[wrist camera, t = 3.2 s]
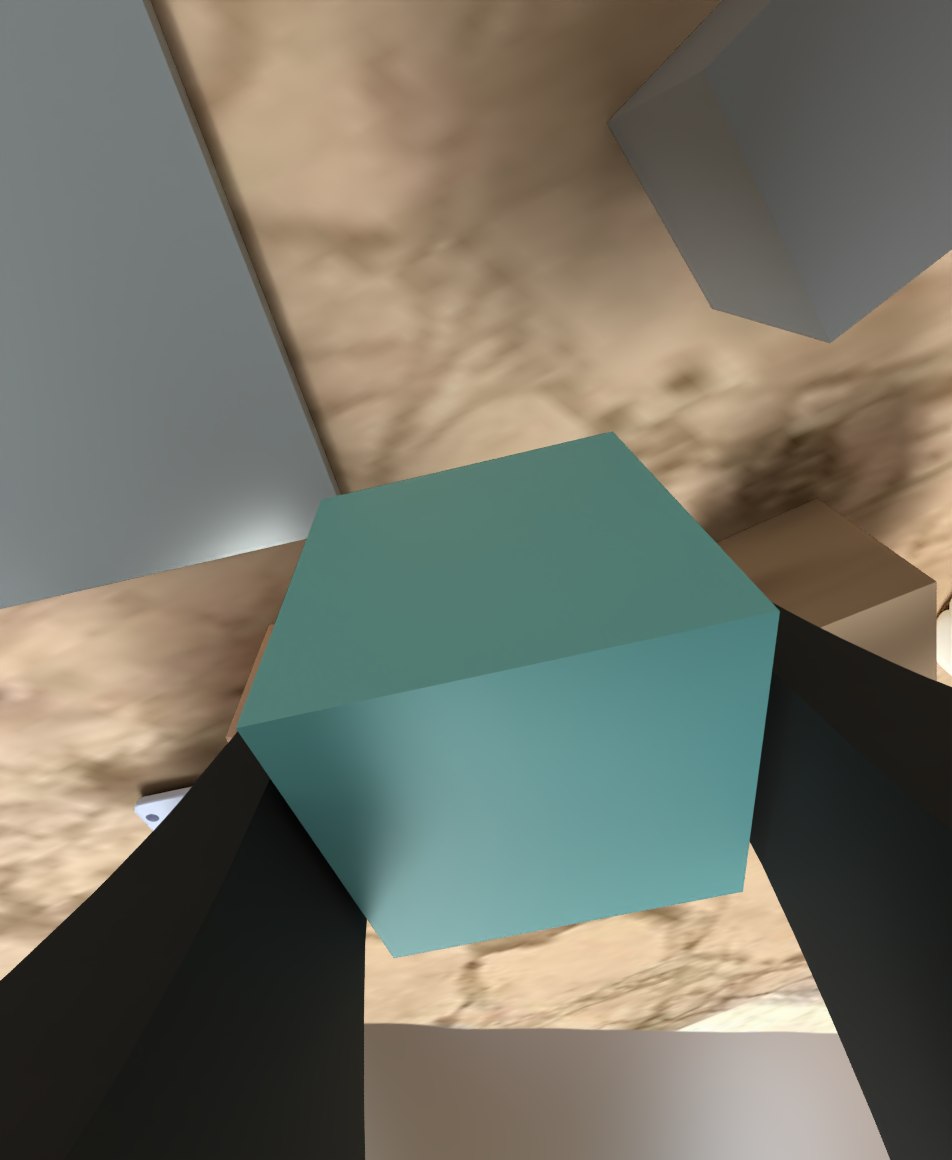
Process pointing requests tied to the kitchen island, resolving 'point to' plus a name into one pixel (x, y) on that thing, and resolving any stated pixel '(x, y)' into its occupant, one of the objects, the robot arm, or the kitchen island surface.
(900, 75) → the charcoal block
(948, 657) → the water bottle
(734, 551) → the walnut block
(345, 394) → the kitchen island surface
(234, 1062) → the robot arm
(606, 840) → the teal block
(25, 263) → the slate coaster
